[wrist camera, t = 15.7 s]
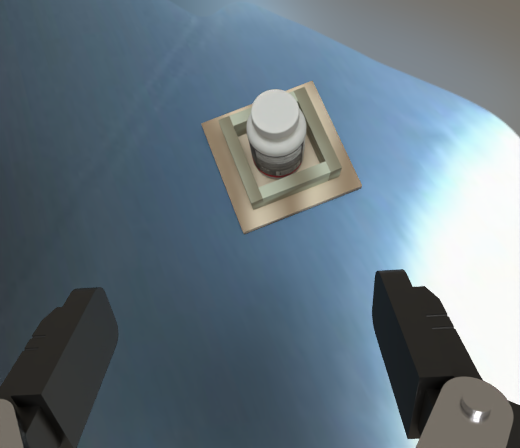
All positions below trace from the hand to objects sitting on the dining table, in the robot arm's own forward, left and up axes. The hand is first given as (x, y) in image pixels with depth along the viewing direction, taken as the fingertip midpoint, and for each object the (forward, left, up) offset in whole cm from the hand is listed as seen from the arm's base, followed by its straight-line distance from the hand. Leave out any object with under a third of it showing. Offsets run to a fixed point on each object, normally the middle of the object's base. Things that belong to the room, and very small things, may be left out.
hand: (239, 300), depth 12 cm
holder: (+7, +15, -29) cm, 33 cm away
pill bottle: (+6, +15, -28) cm, 32 cm away
